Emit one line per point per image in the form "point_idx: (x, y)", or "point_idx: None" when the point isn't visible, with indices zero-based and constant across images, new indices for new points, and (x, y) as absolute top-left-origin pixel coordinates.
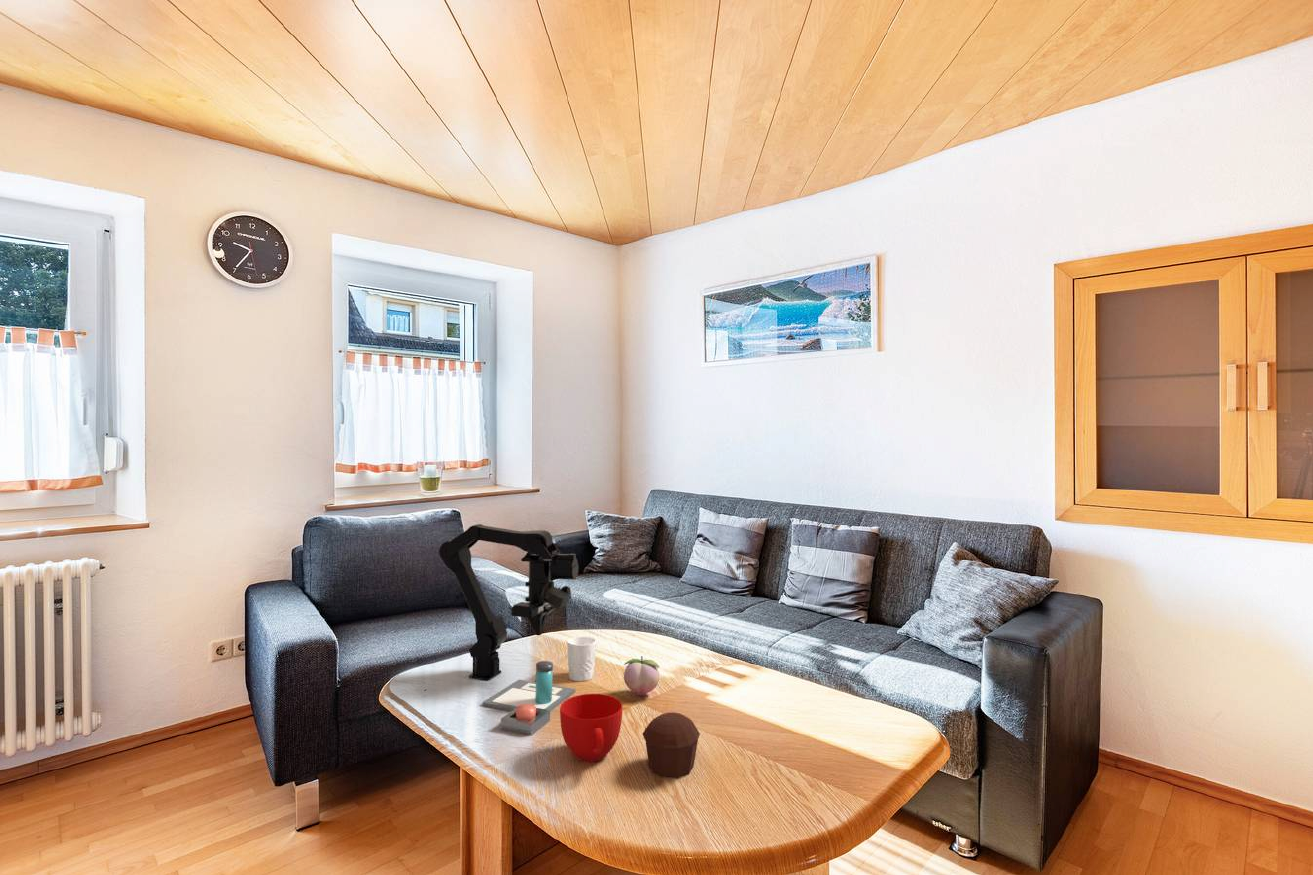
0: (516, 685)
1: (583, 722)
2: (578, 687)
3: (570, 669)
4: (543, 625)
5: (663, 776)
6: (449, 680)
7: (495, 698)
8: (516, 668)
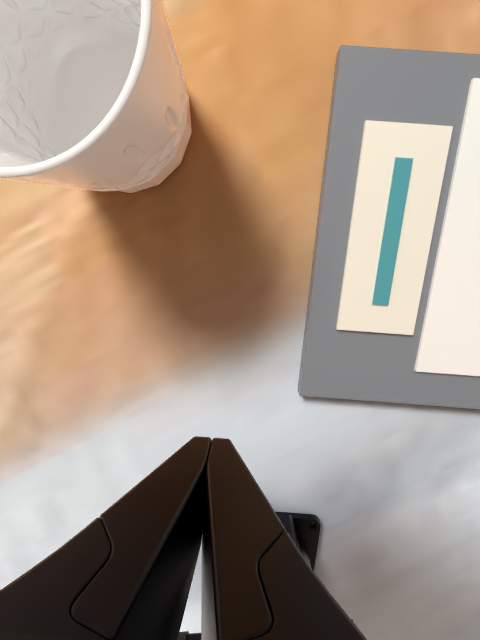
0: (371, 372)
1: None
2: (269, 66)
3: (172, 151)
4: (153, 489)
5: None
6: None
7: None
8: (147, 474)
